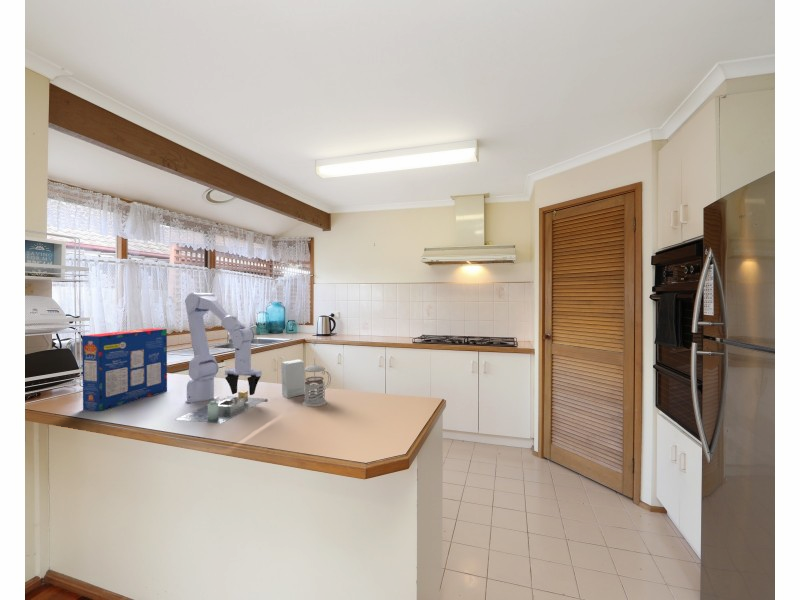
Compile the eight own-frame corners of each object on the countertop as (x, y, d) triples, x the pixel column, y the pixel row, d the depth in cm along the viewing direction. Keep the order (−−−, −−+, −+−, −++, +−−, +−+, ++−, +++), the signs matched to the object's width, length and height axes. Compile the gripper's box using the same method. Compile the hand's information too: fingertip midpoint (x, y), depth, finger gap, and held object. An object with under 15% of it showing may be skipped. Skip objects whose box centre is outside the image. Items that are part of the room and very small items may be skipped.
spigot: (205, 419, 116) (205, 402, 116) (212, 416, 119) (212, 399, 119) (213, 420, 116) (213, 403, 116) (220, 417, 119) (220, 400, 119)
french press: (298, 401, 139) (298, 340, 139) (324, 396, 146) (325, 338, 146) (307, 408, 132) (307, 343, 131) (335, 402, 138) (335, 340, 138)
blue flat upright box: (152, 389, 156) (152, 328, 155) (167, 391, 154) (166, 328, 153) (83, 409, 128) (82, 335, 128) (99, 411, 126) (98, 336, 126)
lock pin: (224, 409, 125) (224, 398, 125) (242, 400, 135) (242, 390, 135) (230, 409, 125) (230, 398, 125) (247, 401, 135) (247, 391, 134)
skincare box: (299, 391, 153) (299, 358, 153) (305, 395, 149) (305, 360, 148) (280, 395, 148) (280, 361, 148) (286, 398, 143) (286, 363, 143)
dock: (174, 422, 116) (174, 410, 116) (228, 398, 143) (228, 389, 143) (221, 426, 113) (221, 414, 113) (267, 401, 140) (267, 391, 140)
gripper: (219, 360, 131) (219, 395, 131) (253, 361, 128) (254, 397, 128) (231, 357, 138) (231, 390, 138) (264, 358, 135) (264, 392, 135)
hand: (243, 393), depth 134 cm, fingers open, 7 cm apart
